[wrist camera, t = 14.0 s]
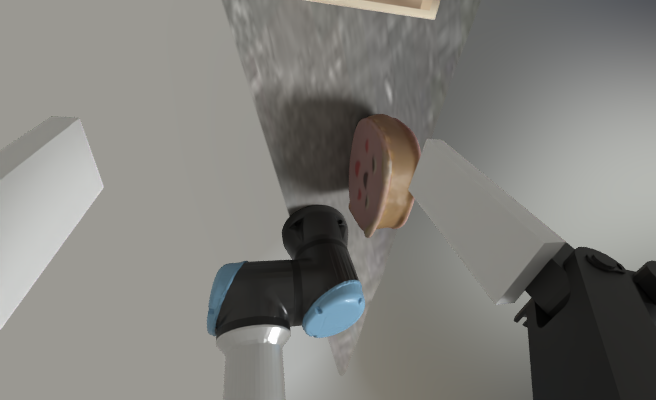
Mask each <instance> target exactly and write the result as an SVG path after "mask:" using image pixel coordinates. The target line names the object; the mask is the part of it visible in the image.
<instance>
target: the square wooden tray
mask: <svg viewBox="0 0 656 400" xmlns="http://www.w3.org/2000/svg"><path fill="white" fill-rule="evenodd" d="M306 1H313V2H319V3H326V4H333V5H339V6H346V7H353V8H359V9H366V10H373V11H379V12H386V13H393V14H399V15H406V16H413V17H419V18H426V19H433V20H435V17H436V13H437V10H438V6H439V3H440V0H306Z"/></svg>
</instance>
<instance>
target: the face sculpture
mask: <svg viewBox="0 0 656 400" xmlns="http://www.w3.org/2000/svg"><path fill="white" fill-rule="evenodd" d="M420 156H421V152H420V147H419V144H418V141H417V138H416V136H415V135H414V133H413V132H412V131H411V129H410V128H408V127H407V126H406V125H405V124H403V123H402V122H401V121H400V120H398V119H396V118H392V117H390V116H388V115H385V114H377V115H372V116H369V117H367V118H363V119H361V120H360V121H359V123H358V124H357V127H356V130H355V133H354V137H353V142H352V148H351V155H350V165H349V198H350V203H349V210H350V212H351V213H352V215H353V216H354V219H355V220H356V221H357V223H358V225H359V227H360V228H361V229H362V230H363V231H364V234H365V237H367V238H370V237H371V236H372V235H373V233H374V231H375V230H376V229H380V228H388V227H389V228H392V229H396V228H400V227H402V226H403V225H404V224H405V223H406V221H407V219H408V216H409V214H410V211H411V208H412V205H413V202H414V200H415V198H414V197H413V196H412V194H411V193H410V192H409V190H408V189H409V186H410V183H411V181H412V178H413V175H414V172H415V170H416V167H417V164H418V162H419V159H420Z"/></svg>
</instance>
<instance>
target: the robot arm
mask: <svg viewBox="0 0 656 400" xmlns="http://www.w3.org/2000/svg"><path fill="white" fill-rule="evenodd" d="M103 188H104V186H103V183H102V180H101V177H100V175H99V172H98V169H97V166H96V163H95V160H94V157H93V155H92V152H91V149H90V146H89V143H88V140H87V137H86V135H85V132H84V129H83V127H82V123H81V120H80V118H72V117H56V116H51V117H50V118H48V119H47V120H46V121H44V122H42V123H41V124H39V125H38V126H36V127H35V128H33V129H32V130H30V131H29V132H27V133H26V134H24V135H23V136H21V137H20V138H18V139H17V140H15V141H14V142H12V143H11V144H9V145H8V146H6V147H5V148H3V149H2V150H0V330H1V328H2V327H3V326H4V324H5V323H6V321H7V320H8V319H9V317H10V316H11V315H12V313H13V312H14V310H15V309H16V308H17V306H18V305H19V304H20V302H21V301H22V299H23V298H24V297H25V295H26V294H27V292H28V291H29V290H30V288H31V287H32V286H33V284H34V283H35V281H36V280H37V279H38V277H39V276H40V275H41V273H42V272H43V270H44V269H45V268H46V266H47V265H48V264H49V262H50V261H51V259H52V258H53V257H54V255H55V254H56V252H57V251H58V250H59V248H60V247H61V246H62V244H63V243H64V241H65V240H66V239H67V237H68V236H69V235H70V233H71V232H72V230H73V229H74V228H75V226H76V225H77V223H78V222H79V221H80V219H81V218H82V217H83V215H84V214H85V212H86V211H87V210H88V208H89V207H90V206H91V204H92V203H93V202H94V200H95V199H96V197H97V196H98V195H99V193H100V192H101V191H102V189H103ZM408 190H409V192H410V193H411V194H412V196H413V197H414V198H415V200H416V201H417V202H418V204H419V205H420V206H421V207H422V209H423V210H424V211H425V213H426V214H427V215H428V217H429V218H430V219H431V221H432V222H433V223H434V225H435V226H436V227H437V228H438V230H439V231H440V232H441V234H442V235H443V236H444V238H445V239H446V240H447V242H448V243H449V244H450V245H451V247H452V248H453V250H454V251H455V252H456V253H457V255H458V256H459V257H460V259H461V260H462V261H463V263H464V264H465V265H466V267H467V268H468V269H469V271H470V272H471V273H472V275H473V276H474V277H475V279H476V280H477V281H478V282H479V284H480V285H481V286H482V288H483V289H484V290H485V292H486V293H487V294H488V296H489V297H490V298H491V300H492V301H493V302H494V303H495V305H499V304H507V303H515V301H516V300H517V299H518V298H519V296H520V295H521V294H522V293H523V292H524V291H526V292H527V293H528V294H529V295H530V296H531V297H532V298H531V299H530V300H529V301H528V303H527V304H526V305H525V306H524V307H523V308H522V309H521V310H520V311H519V313H518V314H517V315H516V316H515V318H514V321H515V322H518V321H519V320H520V319H521V318H522V317H527V320H526V321H525V322H524V323H523V326H525V327H527V328H528V338H529V351H530V362H531V363H530V364H531V376H532V388H533V400H656V261H649V262H647V263H646V264H644V265H643V266H642V267H641V268H640V269H639V270H638V271H637V272H634V271H629V270H625V268H624V267H623V266H622V265H621V264H619V263H618V262H617V261H615V260H614V259H612V258H611V257H609V256H607V255H606V254H603V253H601V252H599V251H597V250H594V249H590V248H587V247H578V248H576V249H574V248H572V247H571V246H570V245H569V244H568V243H566V241H565V240H563V239H562V238H561V237H560V236H558V235H557V234H556V233H555V232H553V231H552V230H551V229H550V228H549V227H547V226H546V225H545V224H544V223H542V222H541V221H540V220H539V219H538V218H537V217H535V216H534V215H533V214H532V213H530V212H529V211H528V210H527V209H526V208H524V207H523V206H522V205H521V204H519V203H518V202H517V201H516V200H515V199H513V198H512V197H511V196H510V195H508V194H507V193H506V192H505V191H504V190H502V189H501V188H500V187H499V186H498V185H496V184H495V183H494V182H493V181H491V180H490V179H489V178H488V177H487V176H485V175H484V174H483V173H482V172H480V171H479V170H478V169H477V168H476V167H474V166H473V165H472V164H471V163H470V162H468V161H467V160H466V159H465V158H463V157H462V156H461V155H460V154H458V153H457V152H456V151H455V150H454V149H452V148H451V147H450V146H449V145H448V144H446V143H445V142H444V141H443V140H438V139H427V140H426V143H425V145H424V148H423V151H422V154H421V156H420V159H419V162H418V164H417V167H416V170H415V172H414V175H413V178H412V181H411V183H410V186H409V189H408ZM282 238H283V244H284V247H285V249H286V250H287V252H288V254H289V255H290V257H291V258H292V260H275V261H256V262H248V261H243V262H240V263H229V264H226V265H224V266H223V267H221V268H220V269H219V271H218V272H217V275H216V277H215V279H214V282H213V286H212V290H211V295H210V300H209V311H208V317H207V330H208V333H209V334H210V335H213V336H216V346H217V347H218V348H219V349H220V350H221V351H222V352H223V353H224V354H225V374H224V392H223V400H286V399H285V384H284V368H283V352H282V348H283V346H284V344H285V343H286V342H287V341H288V340H289V338H290V336H291V332H290V327H291V326H300V325H302V327H303V330H305V332H306V334H308V335H309V336H314V337H316V338H322V337H328V336H332V335H335V334H337V333H340V332H342V331H344V330H345V329H347V328H349V327H350V326H351V325H353V324H354V323H355V322H356V321H357V320H358V319H359V318H360V316H361V315H362V313H363V311H364V307H365V300H364V296H363V292H362V286H361V283H360V282H359V279H358V277H357V274H356V271H355V269H354V266H353V263H352V260H351V258H350V255H349V252H348V249H347V243H348V227H347V224H346V221H345V219H344V217H343V215H342V214H341V213H340V212H339V211H338V210H336V209H334V208H332V207H328V206H322V205H316V206H310V207H306V208H303V209H301V210H299V211H297V212H295V213H294V214H293V215H291V216H290V217H289V218H288V219H287V221H286V222H285V224H284V226H283V229H282Z"/></svg>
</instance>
